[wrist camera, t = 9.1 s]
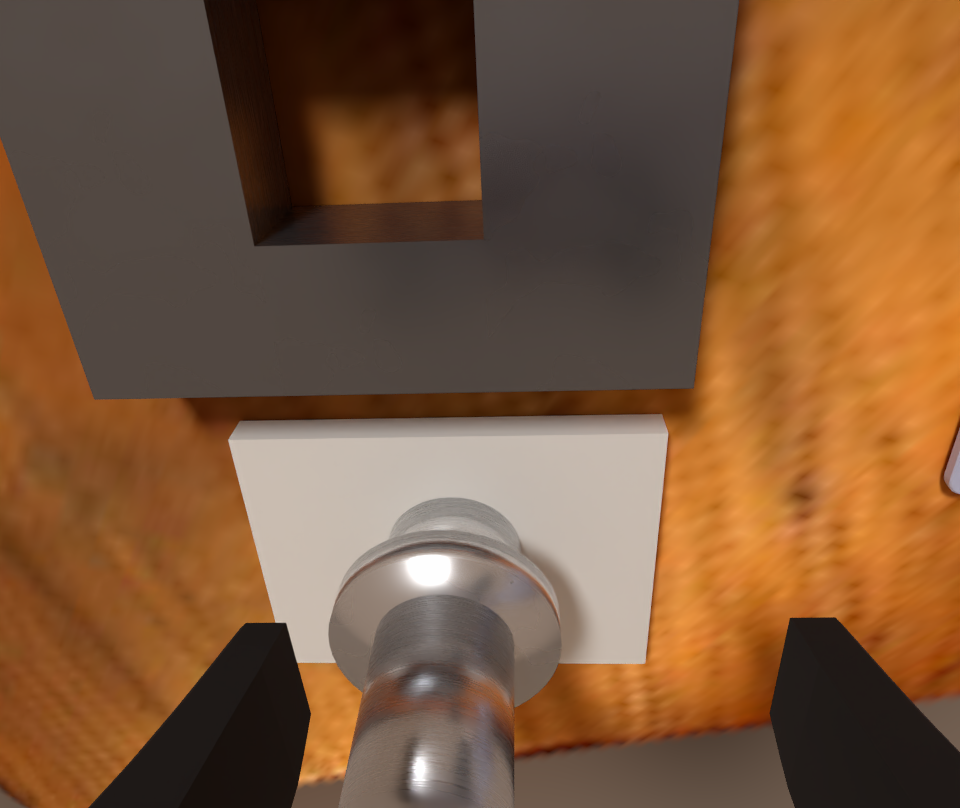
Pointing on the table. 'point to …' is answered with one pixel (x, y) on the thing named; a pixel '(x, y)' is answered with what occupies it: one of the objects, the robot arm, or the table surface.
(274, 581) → the mat
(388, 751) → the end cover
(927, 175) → the table surface
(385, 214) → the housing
